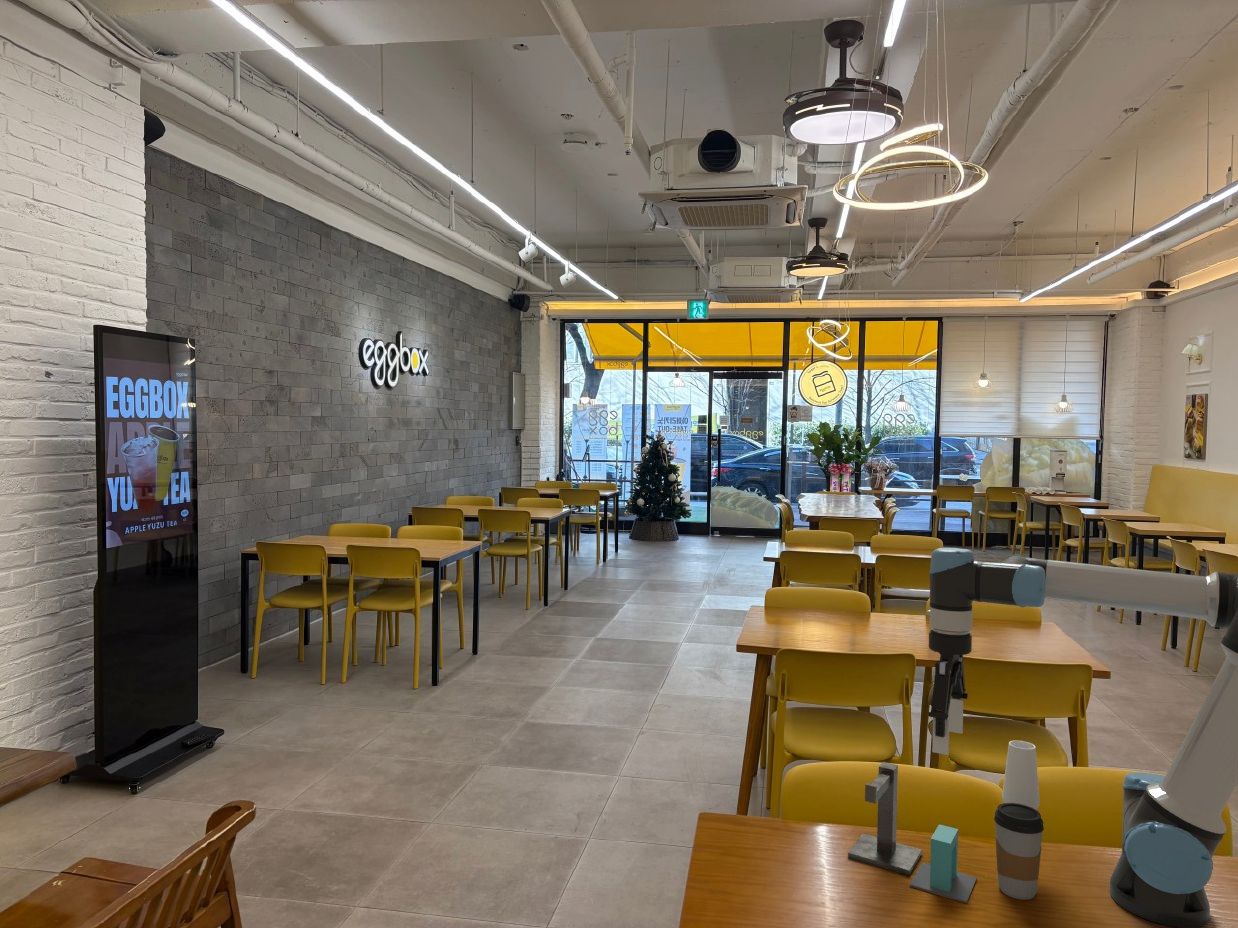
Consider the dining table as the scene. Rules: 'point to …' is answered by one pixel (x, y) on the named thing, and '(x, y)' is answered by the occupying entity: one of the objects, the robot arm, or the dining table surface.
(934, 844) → the u-shaped block
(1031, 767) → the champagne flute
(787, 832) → the dining table surface
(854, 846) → the stand
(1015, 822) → the coffee cup
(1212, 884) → the dining table surface
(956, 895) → the mat
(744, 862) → the dining table surface
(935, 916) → the dining table surface
